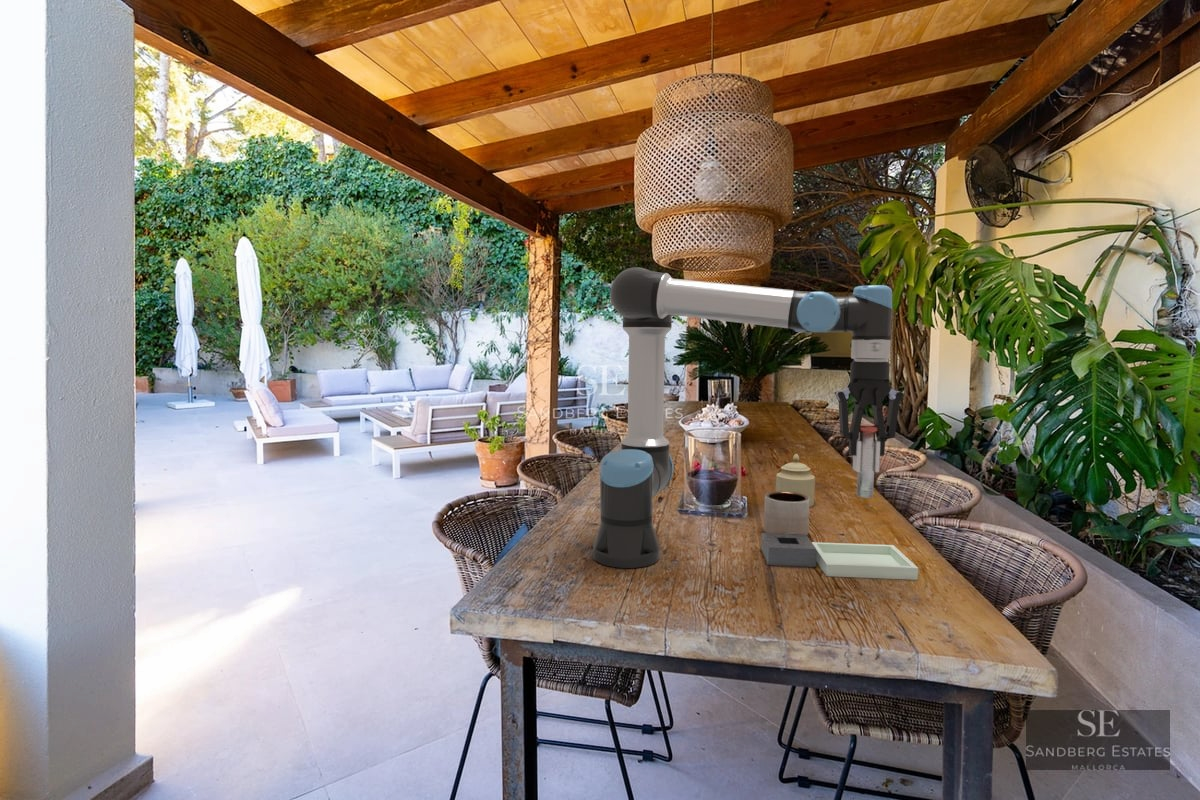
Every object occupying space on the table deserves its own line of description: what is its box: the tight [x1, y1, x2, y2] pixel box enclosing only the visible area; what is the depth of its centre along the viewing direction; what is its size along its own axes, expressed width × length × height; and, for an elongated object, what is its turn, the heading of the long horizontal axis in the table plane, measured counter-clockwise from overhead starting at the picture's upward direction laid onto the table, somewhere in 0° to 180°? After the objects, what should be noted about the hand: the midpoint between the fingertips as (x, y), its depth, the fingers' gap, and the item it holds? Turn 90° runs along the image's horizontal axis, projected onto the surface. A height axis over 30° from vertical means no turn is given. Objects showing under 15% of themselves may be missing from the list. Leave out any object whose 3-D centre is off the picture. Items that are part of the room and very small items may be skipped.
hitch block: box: [760, 532, 817, 568], centre depth 138 cm, size 10×10×4 cm
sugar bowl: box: [775, 453, 816, 508], centre depth 185 cm, size 15×11×15 cm
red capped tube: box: [856, 423, 879, 499], centre depth 131 cm, size 4×4×15 cm
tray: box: [811, 541, 919, 581], centre depth 133 cm, size 18×14×2 cm
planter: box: [763, 491, 810, 536], centre depth 155 cm, size 11×11×10 cm
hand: (865, 470), depth 131 cm, fingers closed on red capped tube, 3 cm apart
